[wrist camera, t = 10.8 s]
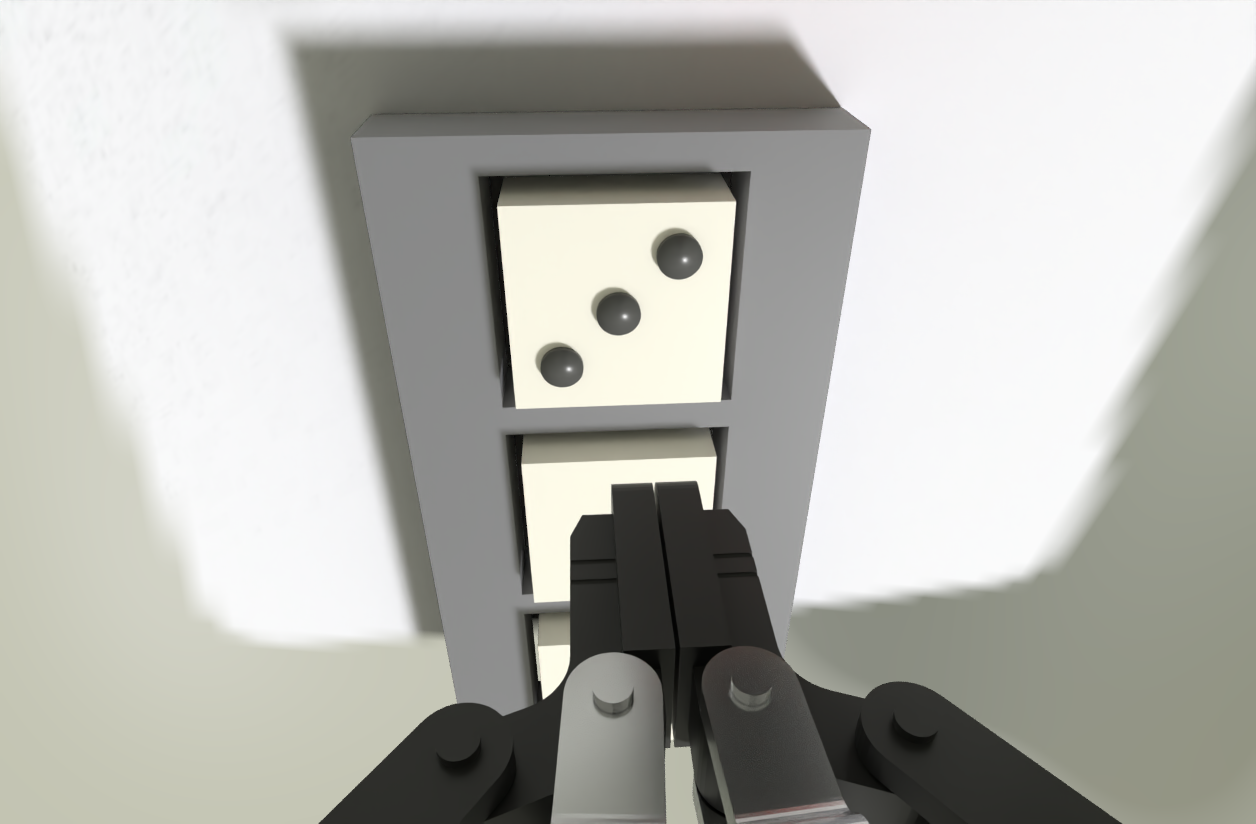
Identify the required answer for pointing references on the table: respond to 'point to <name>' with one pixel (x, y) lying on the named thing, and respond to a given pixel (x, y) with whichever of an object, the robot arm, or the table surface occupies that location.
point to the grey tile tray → (488, 419)
